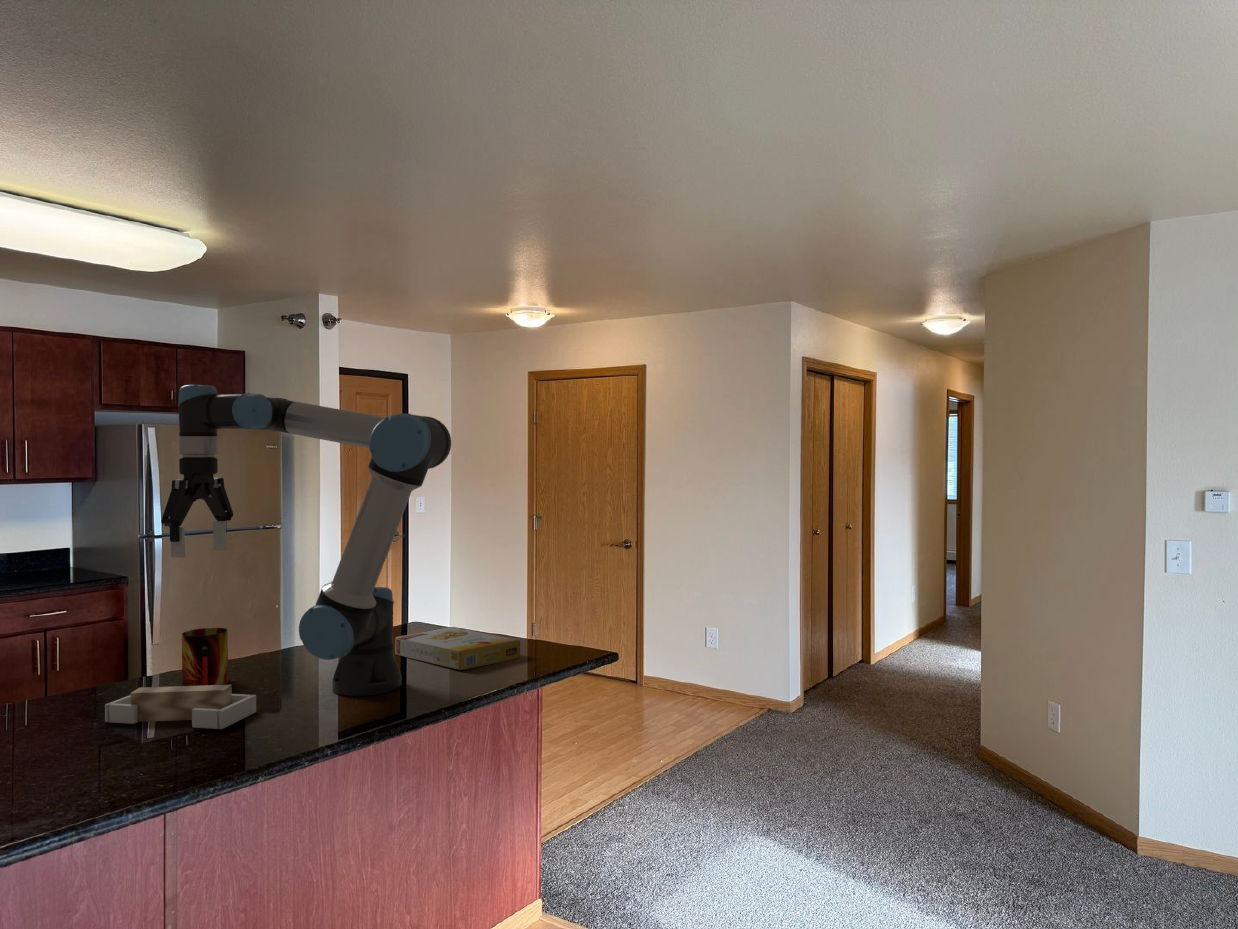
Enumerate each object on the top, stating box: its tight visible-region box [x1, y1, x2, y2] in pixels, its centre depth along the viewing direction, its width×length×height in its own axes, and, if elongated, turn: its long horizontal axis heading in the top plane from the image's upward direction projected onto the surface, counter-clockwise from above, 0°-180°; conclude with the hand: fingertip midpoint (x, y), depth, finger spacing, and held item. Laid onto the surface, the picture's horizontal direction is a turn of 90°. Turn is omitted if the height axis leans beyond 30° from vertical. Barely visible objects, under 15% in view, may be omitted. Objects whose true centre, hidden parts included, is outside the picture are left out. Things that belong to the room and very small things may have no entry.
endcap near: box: [191, 693, 257, 730], centre depth 169 cm, size 6×11×4 cm, turn 170°
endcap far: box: [104, 694, 138, 725], centre depth 173 cm, size 6×11×4 cm, turn 169°
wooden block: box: [130, 684, 233, 723], centre depth 171 cm, size 18×4×6 cm, turn 96°
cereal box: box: [394, 626, 521, 671], centre depth 222 cm, size 20×6×28 cm
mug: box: [181, 627, 229, 686], centre depth 195 cm, size 10×14×12 cm
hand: (199, 553), depth 184 cm, fingers open, 13 cm apart
